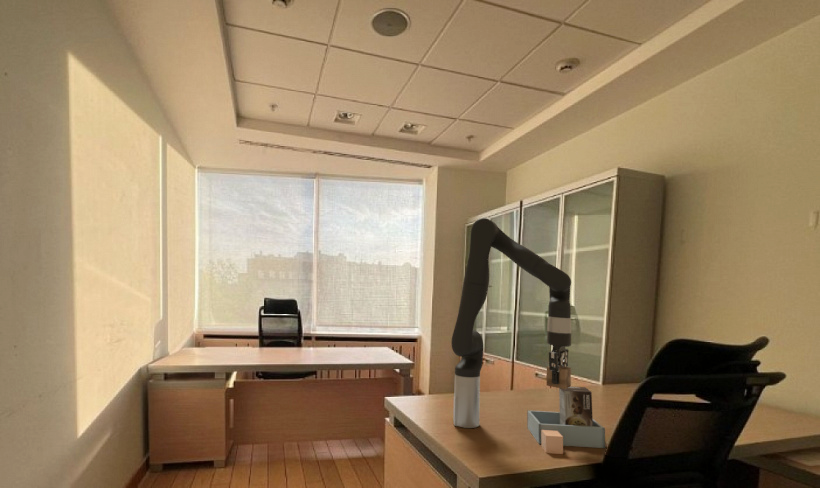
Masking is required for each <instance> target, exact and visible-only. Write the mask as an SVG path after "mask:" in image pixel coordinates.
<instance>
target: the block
mask: <svg viewBox="0 0 820 488" xmlns="http://www.w3.org/2000/svg"><path fill="white" fill-rule="evenodd" d="M554 367H555V365H554ZM571 383H572V367H569V366H567V367H564V366H560V372H559V384H553V383H552V371H551V370H549V365H548V366H546V386H547V387H551V388H552V387H553V388H556V389H559V388H561V389H567V388H569V387H572V386H571V385H572V384H571Z"/></svg>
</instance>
